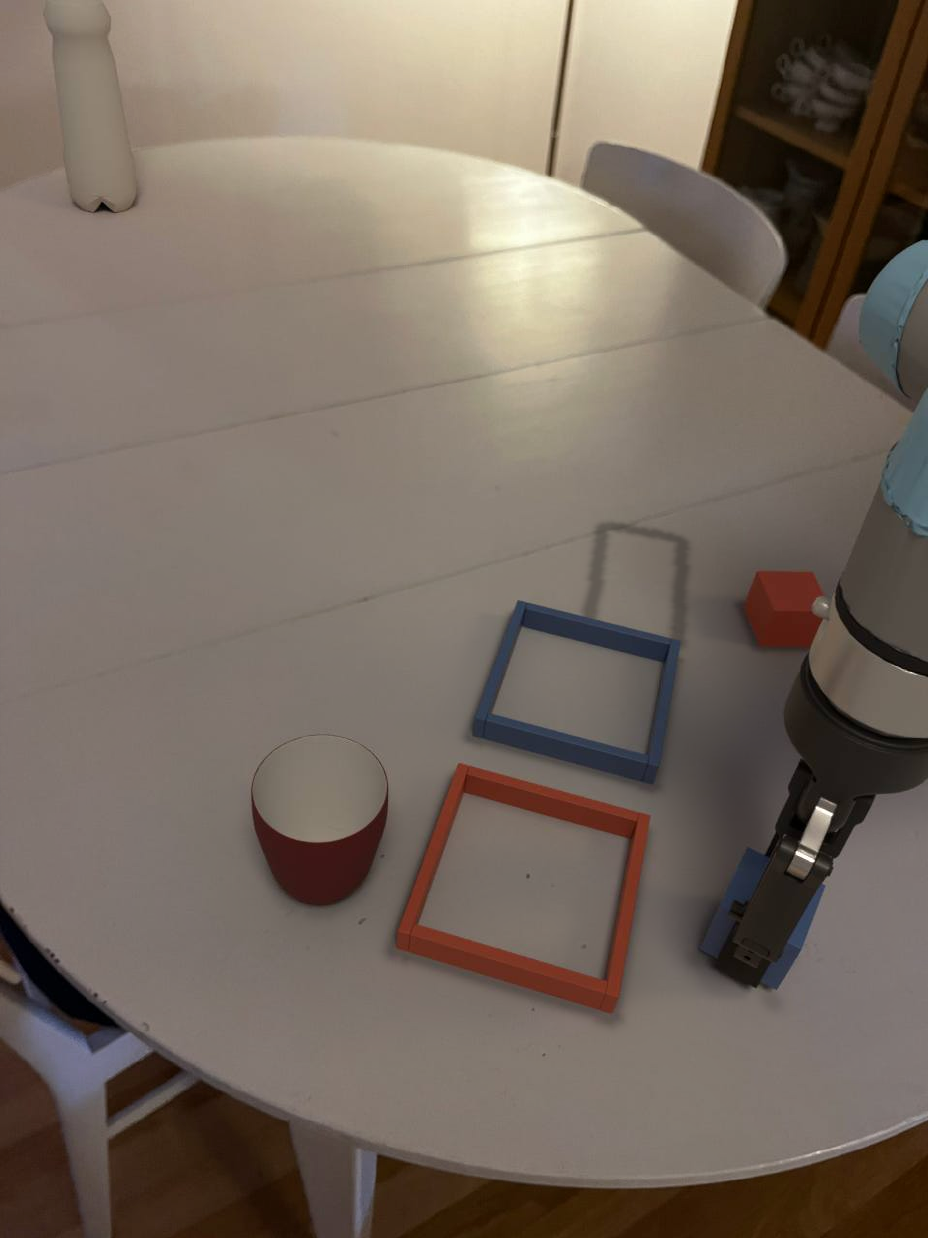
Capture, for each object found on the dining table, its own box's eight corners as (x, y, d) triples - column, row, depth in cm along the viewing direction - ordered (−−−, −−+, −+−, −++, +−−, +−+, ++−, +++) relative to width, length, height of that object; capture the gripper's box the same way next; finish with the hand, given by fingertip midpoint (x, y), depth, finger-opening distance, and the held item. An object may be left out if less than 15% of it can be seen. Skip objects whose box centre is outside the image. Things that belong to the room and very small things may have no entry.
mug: (307, 786, 72) (304, 691, 65) (414, 822, 71) (422, 728, 64) (236, 911, 65) (225, 817, 58) (354, 953, 63) (357, 863, 56)
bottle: (74, 189, 143) (30, -64, 123) (141, 190, 145) (109, -59, 124) (67, 215, 137) (21, -47, 116) (138, 216, 138) (104, -42, 118)
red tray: (641, 840, 71) (650, 815, 69) (609, 1021, 61) (619, 997, 59) (455, 788, 73) (458, 762, 71) (395, 955, 63) (397, 930, 61)
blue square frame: (672, 666, 84) (681, 640, 82) (650, 792, 74) (659, 766, 72) (513, 625, 86) (517, 599, 84) (471, 743, 76) (474, 717, 74)
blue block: (800, 927, 65) (825, 885, 61) (776, 991, 62) (801, 949, 58) (727, 889, 66) (747, 846, 63) (699, 949, 63) (719, 906, 60)
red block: (794, 614, 90) (813, 571, 87) (813, 654, 87) (832, 611, 83) (740, 613, 90) (756, 570, 86) (756, 654, 86) (774, 610, 83)
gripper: (855, 553, 55) (742, 809, 71) (745, 776, 43) (640, 1023, 59) (998, 608, 52) (848, 860, 68) (923, 860, 41) (763, 1094, 57)
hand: (752, 935), depth 64 cm, fingers closed on blue block, 5 cm apart
